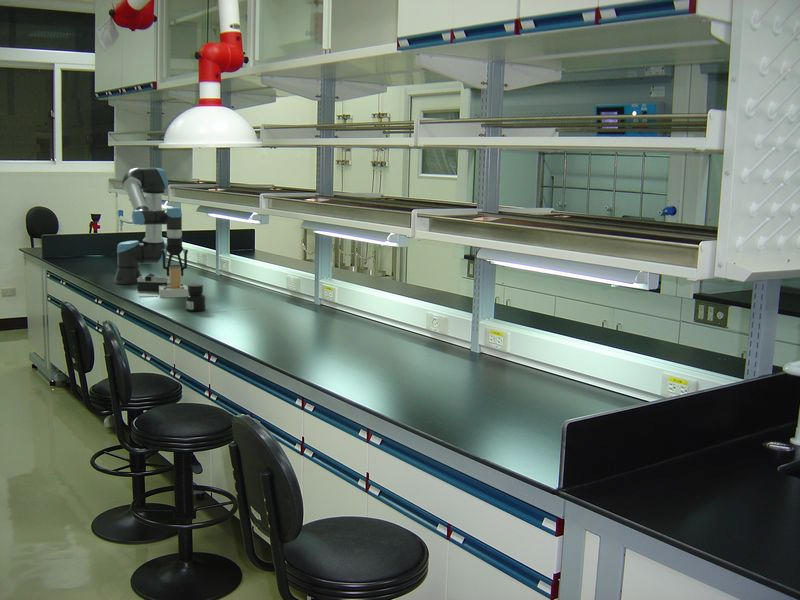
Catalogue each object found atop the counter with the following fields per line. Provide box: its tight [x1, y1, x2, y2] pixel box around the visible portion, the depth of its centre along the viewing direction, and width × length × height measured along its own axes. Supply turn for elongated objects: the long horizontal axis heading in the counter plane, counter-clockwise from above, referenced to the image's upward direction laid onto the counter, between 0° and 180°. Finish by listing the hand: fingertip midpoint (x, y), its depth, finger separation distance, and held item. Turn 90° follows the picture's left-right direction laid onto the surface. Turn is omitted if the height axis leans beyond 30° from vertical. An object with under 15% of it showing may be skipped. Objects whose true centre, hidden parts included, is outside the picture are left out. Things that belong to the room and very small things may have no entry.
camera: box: [136, 272, 168, 294], centre depth 427 cm, size 16×9×10 cm, turn 88°
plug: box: [169, 264, 181, 289], centre depth 418 cm, size 5×5×14 cm
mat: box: [138, 292, 159, 298], centre depth 415 cm, size 9×9×1 cm
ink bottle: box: [185, 283, 206, 313], centre depth 378 cm, size 10×9×12 cm
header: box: [158, 283, 189, 298], centre depth 419 cm, size 14×14×5 cm
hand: (175, 282), depth 419 cm, fingers closed on plug, 4 cm apart
